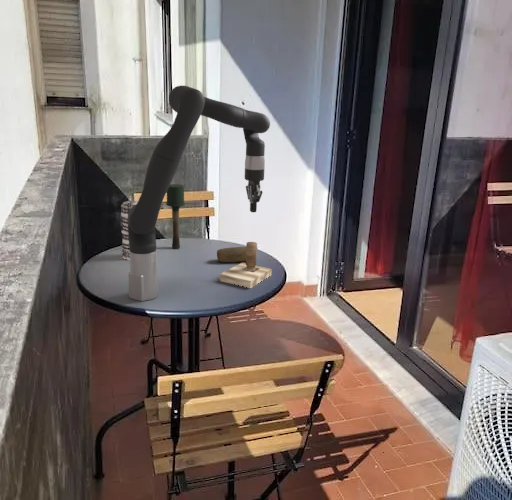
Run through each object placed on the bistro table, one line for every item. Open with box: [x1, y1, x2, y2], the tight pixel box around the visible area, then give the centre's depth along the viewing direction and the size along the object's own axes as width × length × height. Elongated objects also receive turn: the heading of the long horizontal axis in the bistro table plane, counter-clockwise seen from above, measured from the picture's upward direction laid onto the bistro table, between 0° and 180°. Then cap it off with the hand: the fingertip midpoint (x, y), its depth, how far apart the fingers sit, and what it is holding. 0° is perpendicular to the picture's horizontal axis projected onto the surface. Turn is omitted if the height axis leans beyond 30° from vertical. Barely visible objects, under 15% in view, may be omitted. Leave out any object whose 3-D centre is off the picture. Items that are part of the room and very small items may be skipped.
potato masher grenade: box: [165, 183, 186, 250], centre depth 228 cm, size 8×9×30 cm
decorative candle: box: [119, 200, 138, 261], centre depth 214 cm, size 9×9×25 cm
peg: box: [245, 241, 258, 272], centre depth 198 cm, size 4×4×14 cm
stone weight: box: [216, 246, 246, 263], centre depth 216 cm, size 15×7×7 cm, turn 107°
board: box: [219, 262, 272, 289], centre depth 197 cm, size 17×14×3 cm
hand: (253, 211), depth 192 cm, fingers closed
